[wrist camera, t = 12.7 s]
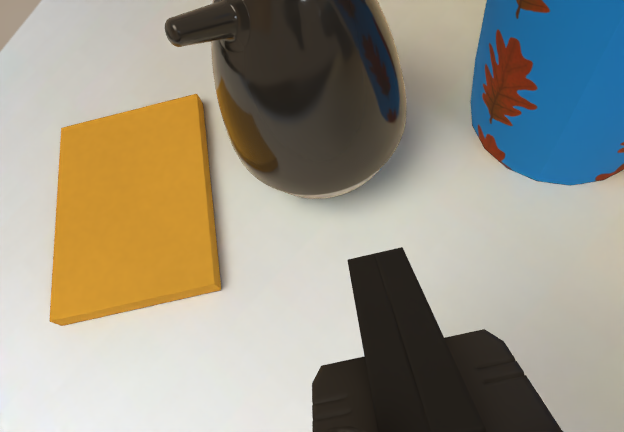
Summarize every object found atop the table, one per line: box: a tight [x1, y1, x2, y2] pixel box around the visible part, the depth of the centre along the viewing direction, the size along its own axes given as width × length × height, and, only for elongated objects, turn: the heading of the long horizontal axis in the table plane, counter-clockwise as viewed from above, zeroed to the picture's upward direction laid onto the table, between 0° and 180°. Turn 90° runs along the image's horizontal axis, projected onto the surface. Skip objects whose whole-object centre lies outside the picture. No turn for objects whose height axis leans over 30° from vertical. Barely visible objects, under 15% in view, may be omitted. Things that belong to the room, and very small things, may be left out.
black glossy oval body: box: [165, 0, 406, 199], centre depth 25 cm, size 10×10×15 cm
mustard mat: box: [50, 94, 221, 326], centre depth 32 cm, size 14×10×1 cm
